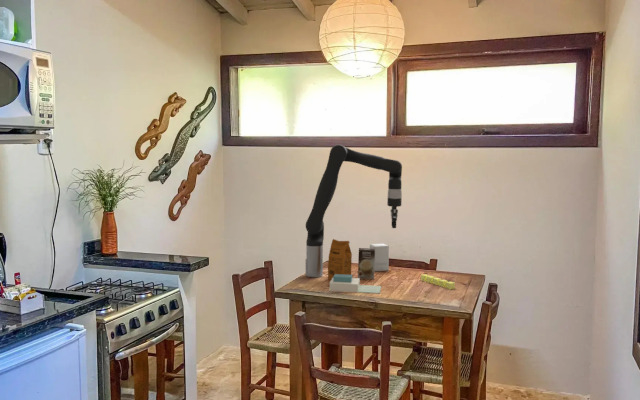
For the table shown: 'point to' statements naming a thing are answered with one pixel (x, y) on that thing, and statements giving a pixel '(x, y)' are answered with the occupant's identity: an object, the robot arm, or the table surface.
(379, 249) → the supplement box
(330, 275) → the coffee package
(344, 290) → the white flat block
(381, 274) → the table surface
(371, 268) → the coffee box
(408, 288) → the table surface
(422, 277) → the yellow piece
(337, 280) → the teal block
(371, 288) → the mat
